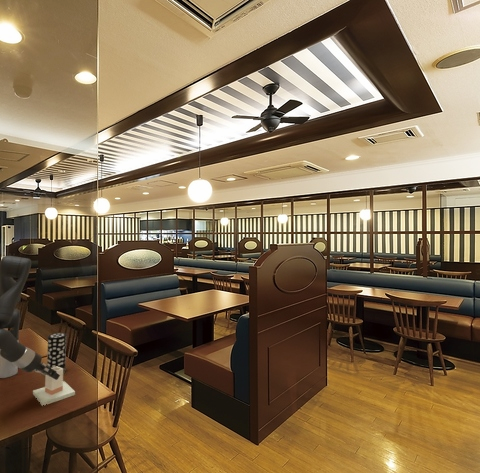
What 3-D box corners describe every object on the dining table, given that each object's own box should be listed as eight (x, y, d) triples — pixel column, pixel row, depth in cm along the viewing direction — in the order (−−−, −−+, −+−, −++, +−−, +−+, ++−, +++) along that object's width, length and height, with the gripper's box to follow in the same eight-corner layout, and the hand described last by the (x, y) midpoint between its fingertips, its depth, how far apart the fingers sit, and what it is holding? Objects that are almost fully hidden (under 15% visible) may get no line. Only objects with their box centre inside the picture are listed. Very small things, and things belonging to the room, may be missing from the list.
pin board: (32, 393, 137) (33, 377, 137) (64, 384, 147) (64, 368, 147) (42, 406, 128) (42, 388, 128) (74, 394, 138) (75, 378, 138)
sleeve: (45, 392, 136) (45, 370, 136) (56, 387, 141) (56, 366, 141) (51, 395, 134) (52, 372, 134) (62, 390, 138) (63, 368, 138)
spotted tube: (44, 377, 152) (45, 338, 152) (49, 370, 160) (51, 333, 160) (62, 376, 155) (63, 337, 155) (67, 369, 163) (68, 332, 163)
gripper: (42, 354, 125) (68, 370, 136) (23, 347, 132) (48, 363, 142) (28, 371, 121) (56, 387, 131) (9, 363, 127) (36, 379, 137)
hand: (52, 375), depth 136 cm, fingers open, 8 cm apart
